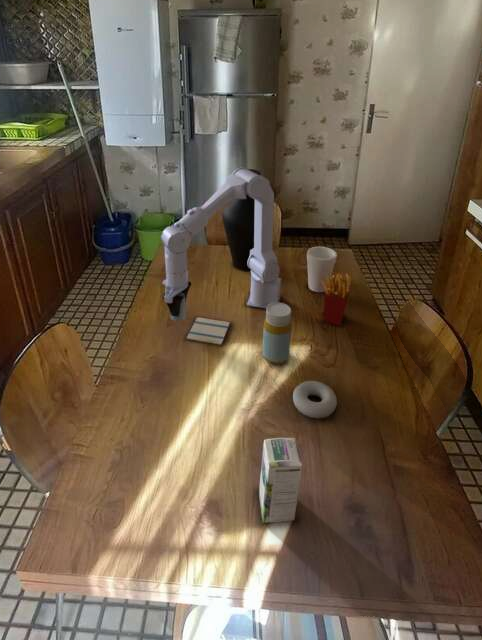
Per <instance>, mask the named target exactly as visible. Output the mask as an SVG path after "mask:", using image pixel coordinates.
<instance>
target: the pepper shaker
mask: <svg viewBox="0 0 482 640" xmlns="http://www.w3.org/2000/svg"><path fill="white" fill-rule="evenodd" d="M178 296H184V297H183V299H182V302H181V306H180V314H179V316H178V317H176V316H171V313H170V312H169V315H170V320H172V321H173V322H182V321H184V320H185V319H186V318H187V307H186V303H185V295H184V294H183V293H181V292H180V293H178Z"/></svg>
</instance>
